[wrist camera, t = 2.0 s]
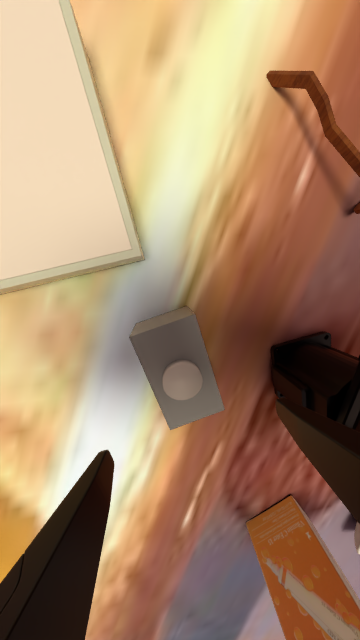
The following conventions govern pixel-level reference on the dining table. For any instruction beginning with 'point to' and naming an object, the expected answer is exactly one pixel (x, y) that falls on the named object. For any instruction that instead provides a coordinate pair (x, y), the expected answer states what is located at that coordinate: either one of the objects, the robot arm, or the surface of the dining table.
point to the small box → (303, 576)
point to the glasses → (320, 112)
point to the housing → (177, 366)
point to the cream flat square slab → (357, 537)
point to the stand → (55, 155)
